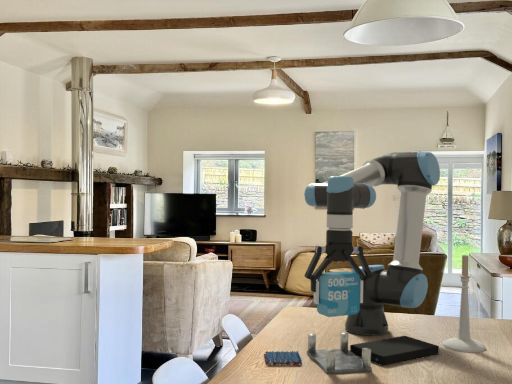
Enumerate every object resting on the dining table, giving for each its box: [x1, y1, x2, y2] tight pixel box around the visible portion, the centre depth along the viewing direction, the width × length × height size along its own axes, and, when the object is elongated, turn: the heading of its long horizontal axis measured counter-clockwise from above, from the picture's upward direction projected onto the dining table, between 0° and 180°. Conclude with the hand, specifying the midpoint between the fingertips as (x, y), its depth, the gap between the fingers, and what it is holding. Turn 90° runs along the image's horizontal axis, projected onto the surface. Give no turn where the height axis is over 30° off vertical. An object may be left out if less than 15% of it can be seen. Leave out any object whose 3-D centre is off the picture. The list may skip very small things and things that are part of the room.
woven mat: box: [263, 350, 303, 367], centre depth 167 cm, size 10×11×2 cm
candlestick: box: [442, 254, 486, 354], centre depth 184 cm, size 13×13×30 cm
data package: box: [316, 270, 360, 318], centre depth 166 cm, size 12×4×12 cm, turn 116°
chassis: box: [306, 332, 373, 375], centre depth 166 cm, size 13×20×6 cm, turn 12°
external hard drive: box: [349, 335, 440, 367], centre depth 176 cm, size 14×23×3 cm, turn 121°
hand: (338, 302), depth 166 cm, fingers closed on data package, 13 cm apart
